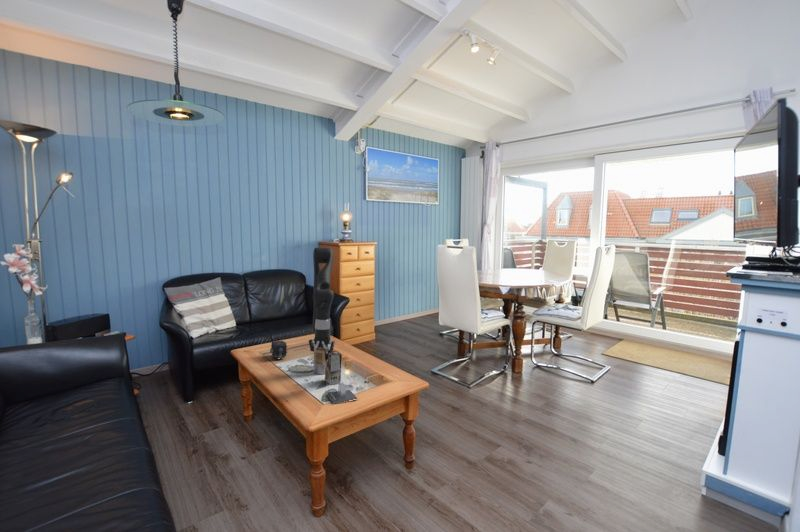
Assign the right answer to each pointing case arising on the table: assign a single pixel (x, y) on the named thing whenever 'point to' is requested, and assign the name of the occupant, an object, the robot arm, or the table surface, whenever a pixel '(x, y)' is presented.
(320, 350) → the brown block
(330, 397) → the stub plate
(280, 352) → the camera
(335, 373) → the coffee box
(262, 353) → the table surface
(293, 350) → the table surface
